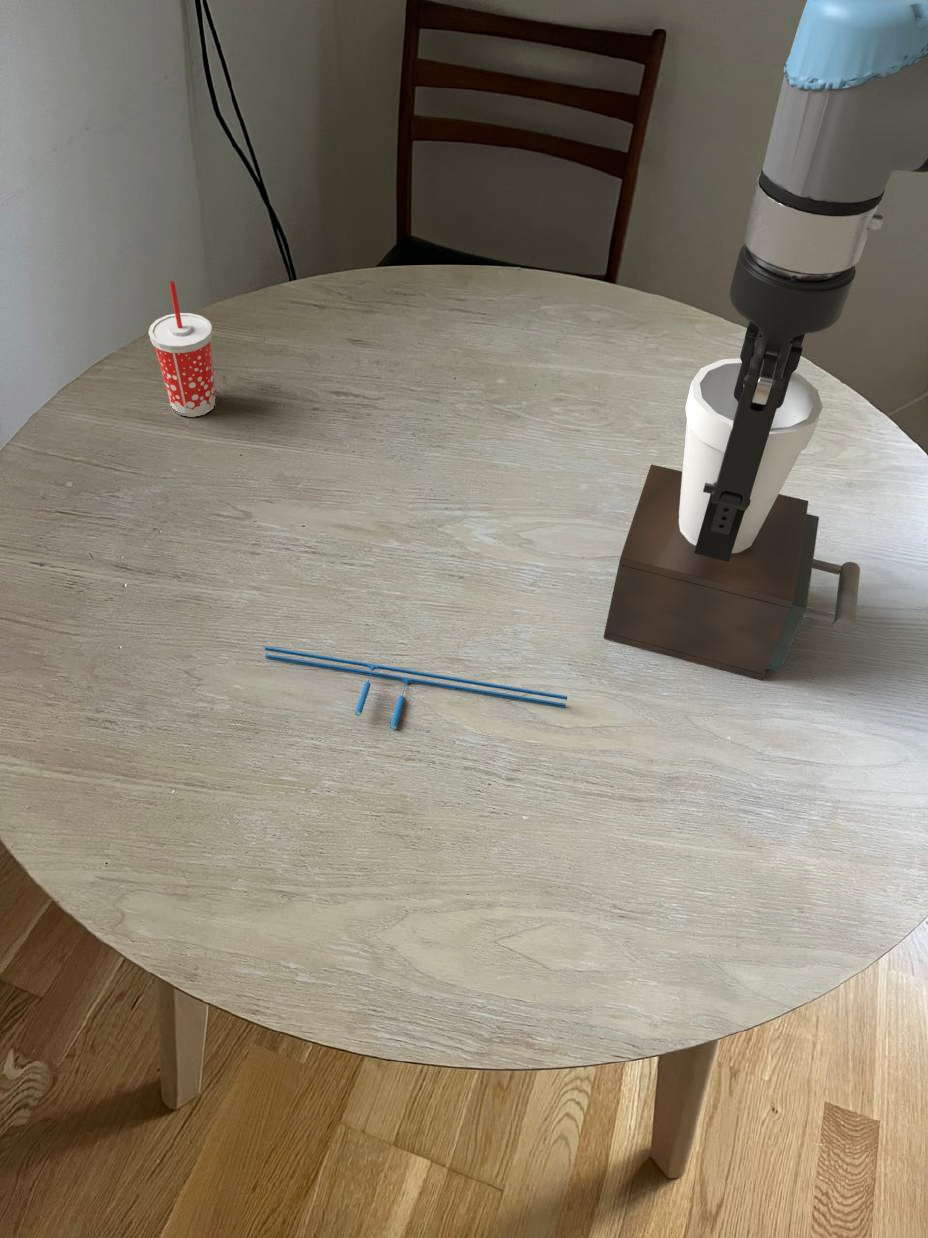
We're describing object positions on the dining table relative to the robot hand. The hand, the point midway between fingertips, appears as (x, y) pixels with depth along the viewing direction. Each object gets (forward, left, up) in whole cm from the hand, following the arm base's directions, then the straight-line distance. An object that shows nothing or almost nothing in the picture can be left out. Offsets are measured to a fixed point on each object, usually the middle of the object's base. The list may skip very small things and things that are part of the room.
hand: (721, 513), depth 84 cm
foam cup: (0, 0, -2) cm, 2 cm away
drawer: (-4, 0, -10) cm, 11 cm away
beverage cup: (+55, -11, -11) cm, 57 cm away
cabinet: (0, 0, -11) cm, 11 cm away
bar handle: (+20, +19, -11) cm, 30 cm away
